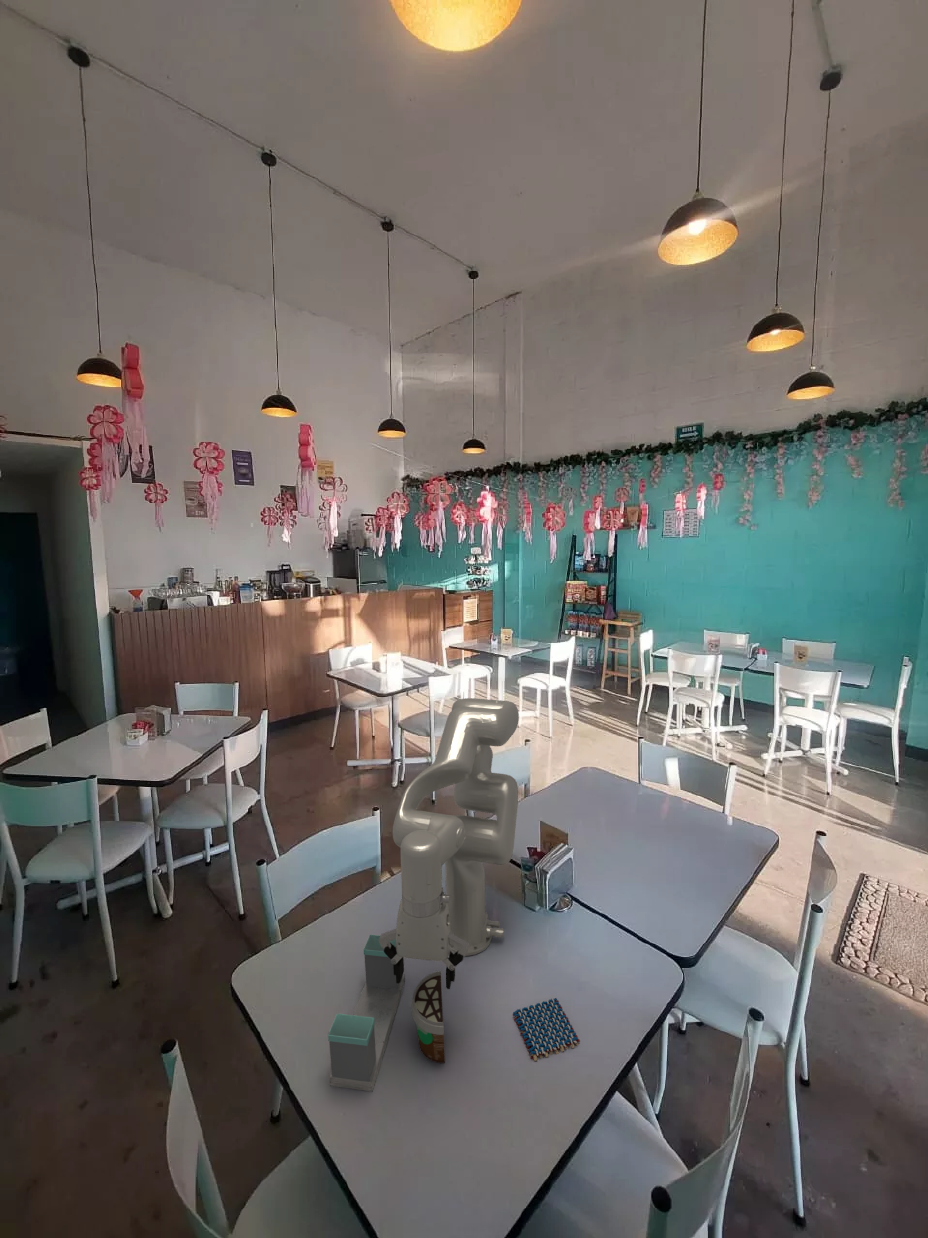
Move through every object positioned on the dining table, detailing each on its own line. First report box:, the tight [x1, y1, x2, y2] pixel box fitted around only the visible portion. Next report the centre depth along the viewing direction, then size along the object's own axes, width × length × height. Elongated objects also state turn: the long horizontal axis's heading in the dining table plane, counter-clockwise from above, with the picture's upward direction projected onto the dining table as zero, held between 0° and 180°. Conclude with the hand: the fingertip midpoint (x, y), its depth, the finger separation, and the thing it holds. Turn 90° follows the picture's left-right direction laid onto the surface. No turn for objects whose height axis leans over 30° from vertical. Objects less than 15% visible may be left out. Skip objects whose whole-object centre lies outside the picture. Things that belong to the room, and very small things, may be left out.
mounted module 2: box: [363, 934, 399, 989], centre depth 111 cm, size 7×4×9 cm, turn 82°
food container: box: [410, 970, 446, 1064], centre depth 100 cm, size 12×6×10 cm, turn 5°
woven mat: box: [512, 997, 581, 1061], centre depth 102 cm, size 10×11×2 cm
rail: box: [329, 972, 406, 1093], centre depth 103 cm, size 8×23×2 cm, turn 172°
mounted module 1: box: [327, 1013, 376, 1082], centre depth 93 cm, size 7×4×9 cm, turn 82°
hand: (424, 980), depth 98 cm, fingers open, 9 cm apart
